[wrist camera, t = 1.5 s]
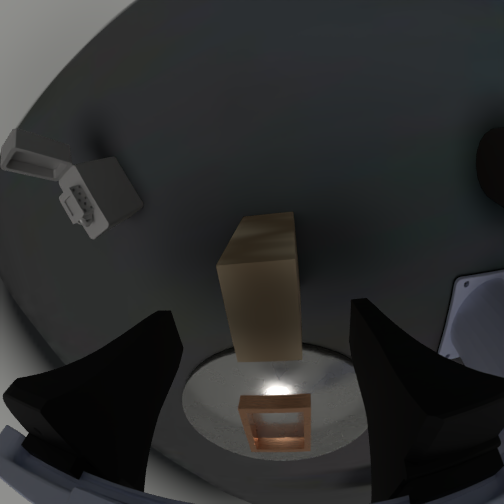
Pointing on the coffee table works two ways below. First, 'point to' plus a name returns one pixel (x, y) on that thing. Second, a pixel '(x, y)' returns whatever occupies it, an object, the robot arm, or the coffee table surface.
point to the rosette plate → (277, 404)
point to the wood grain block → (263, 289)
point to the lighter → (75, 180)
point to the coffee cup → (492, 165)
